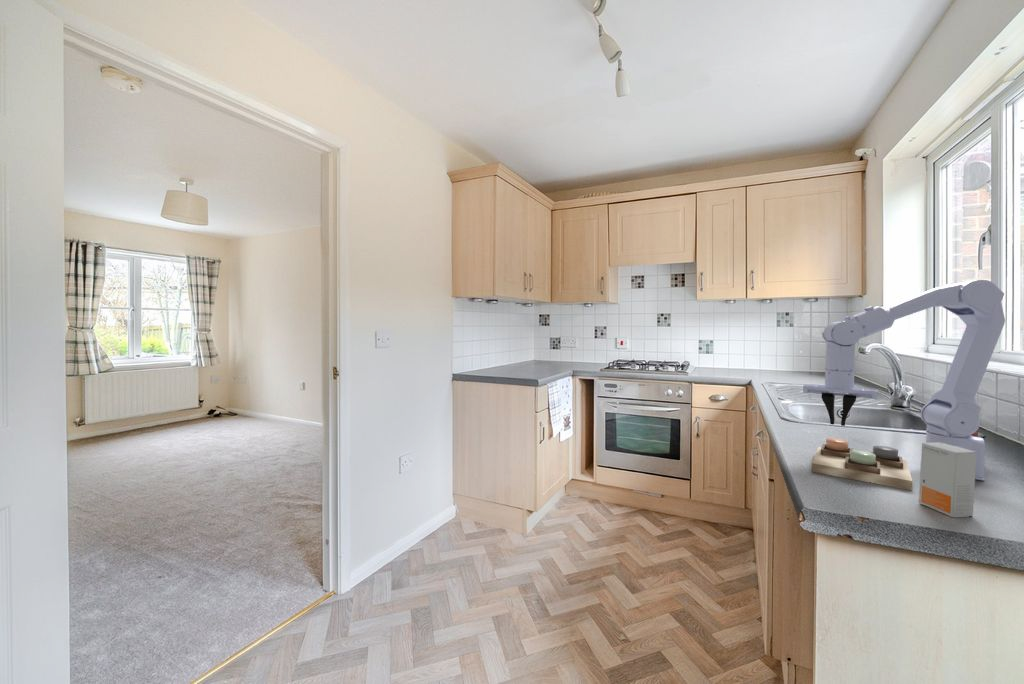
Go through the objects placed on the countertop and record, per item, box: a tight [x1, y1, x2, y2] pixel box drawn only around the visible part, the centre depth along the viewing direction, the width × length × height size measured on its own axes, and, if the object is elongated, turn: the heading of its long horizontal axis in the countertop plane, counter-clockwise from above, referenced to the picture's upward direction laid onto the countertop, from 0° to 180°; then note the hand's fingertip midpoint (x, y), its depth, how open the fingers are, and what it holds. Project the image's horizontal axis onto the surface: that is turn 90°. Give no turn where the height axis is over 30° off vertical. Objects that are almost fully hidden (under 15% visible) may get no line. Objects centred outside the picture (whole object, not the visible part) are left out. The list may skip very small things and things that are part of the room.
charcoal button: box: [872, 445, 899, 459], centre depth 98 cm, size 4×4×2 cm
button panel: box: [811, 443, 913, 491], centre depth 99 cm, size 17×16×3 cm
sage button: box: [850, 449, 876, 465], centre depth 95 cm, size 4×4×2 cm
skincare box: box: [918, 442, 977, 518], centre depth 78 cm, size 6×4×12 cm
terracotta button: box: [825, 437, 849, 450], centre depth 105 cm, size 4×4×2 cm
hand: (837, 424), depth 105 cm, fingers closed
